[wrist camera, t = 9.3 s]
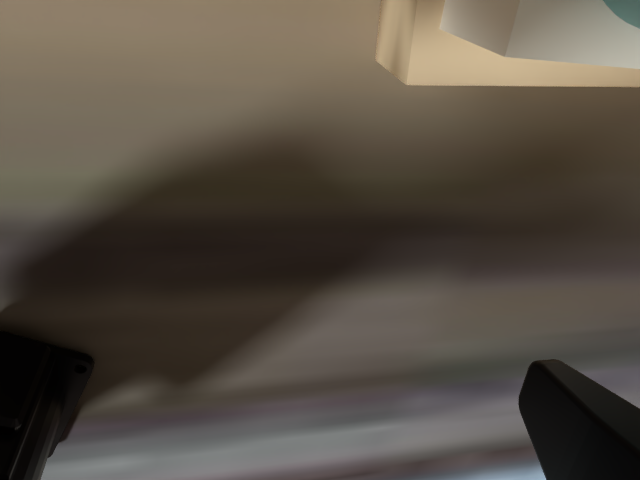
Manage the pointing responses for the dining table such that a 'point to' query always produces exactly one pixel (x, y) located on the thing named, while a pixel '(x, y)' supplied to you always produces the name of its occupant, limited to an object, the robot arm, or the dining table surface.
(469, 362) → the dining table surface
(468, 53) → the oak base slab
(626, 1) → the seafoam tapered dome
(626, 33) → the white upper slab
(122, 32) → the dining table surface
